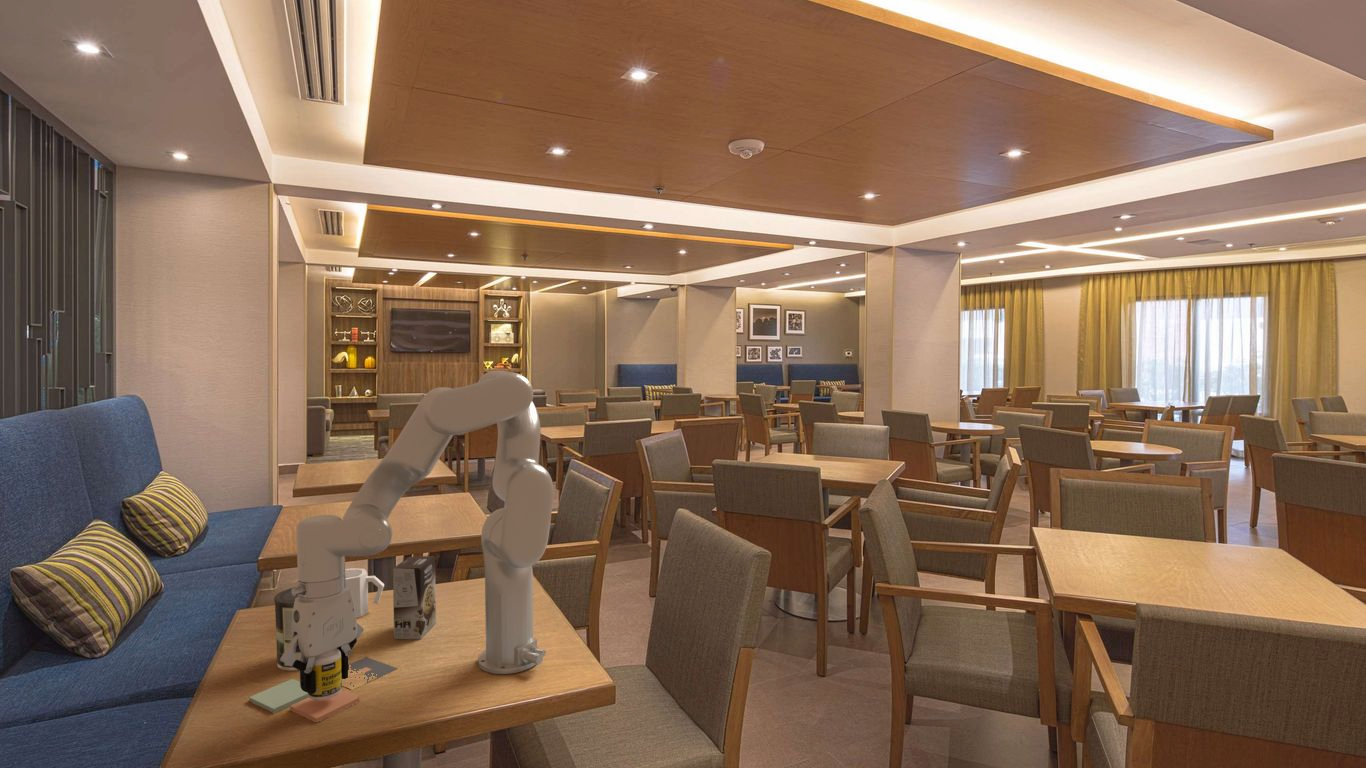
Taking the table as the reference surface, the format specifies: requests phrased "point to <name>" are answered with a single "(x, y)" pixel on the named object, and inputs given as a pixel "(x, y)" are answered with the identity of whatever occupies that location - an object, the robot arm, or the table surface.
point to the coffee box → (414, 597)
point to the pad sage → (280, 696)
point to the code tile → (371, 668)
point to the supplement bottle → (327, 675)
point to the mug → (361, 588)
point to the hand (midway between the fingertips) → (325, 683)
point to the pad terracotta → (323, 706)
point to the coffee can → (284, 625)
